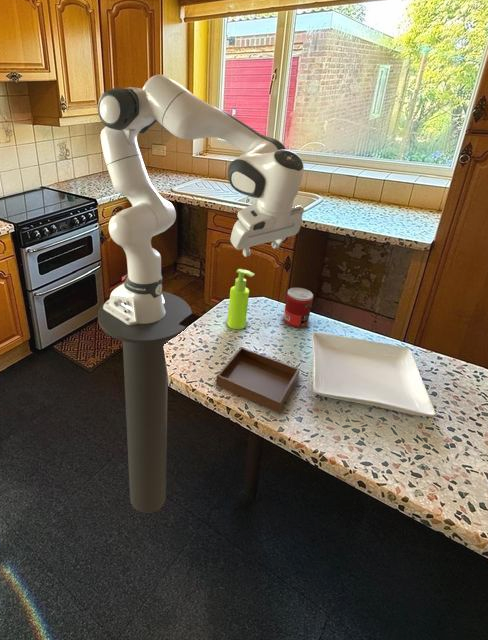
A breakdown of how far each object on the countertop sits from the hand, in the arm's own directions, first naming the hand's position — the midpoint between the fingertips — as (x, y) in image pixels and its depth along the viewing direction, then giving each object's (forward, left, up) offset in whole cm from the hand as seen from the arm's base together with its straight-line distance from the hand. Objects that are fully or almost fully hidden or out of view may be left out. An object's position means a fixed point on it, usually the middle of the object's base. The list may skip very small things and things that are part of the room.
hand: (260, 251), depth 113 cm
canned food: (+9, +16, -29) cm, 35 cm away
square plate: (+33, -1, -29) cm, 44 cm away
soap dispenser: (-6, +3, -29) cm, 30 cm away
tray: (+10, -19, -29) cm, 36 cm away
